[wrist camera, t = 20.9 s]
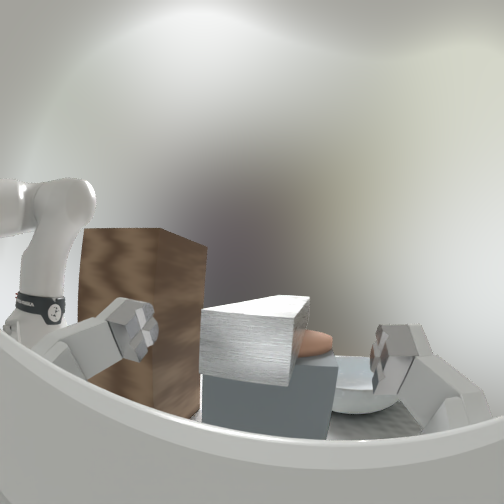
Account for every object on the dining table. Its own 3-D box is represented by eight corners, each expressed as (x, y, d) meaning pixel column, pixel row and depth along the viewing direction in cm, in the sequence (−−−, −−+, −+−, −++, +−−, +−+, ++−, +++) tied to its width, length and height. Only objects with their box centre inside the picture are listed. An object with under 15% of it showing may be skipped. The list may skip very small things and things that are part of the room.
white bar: (198, 373, 11) (201, 309, 12) (277, 318, 34) (278, 295, 35) (287, 386, 10) (294, 317, 11) (308, 320, 33) (310, 296, 34)
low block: (203, 505, 16) (203, 342, 18) (236, 447, 27) (244, 321, 29) (303, 520, 14) (340, 354, 16) (308, 455, 25) (327, 327, 27)
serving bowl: (374, 380, 52) (379, 352, 53) (426, 415, 31) (435, 378, 32) (286, 386, 51) (289, 355, 52) (309, 436, 31) (316, 394, 31)
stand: (85, 417, 27) (84, 228, 30) (138, 391, 40) (142, 244, 43) (157, 449, 24) (160, 228, 27) (199, 408, 38) (207, 247, 41)
